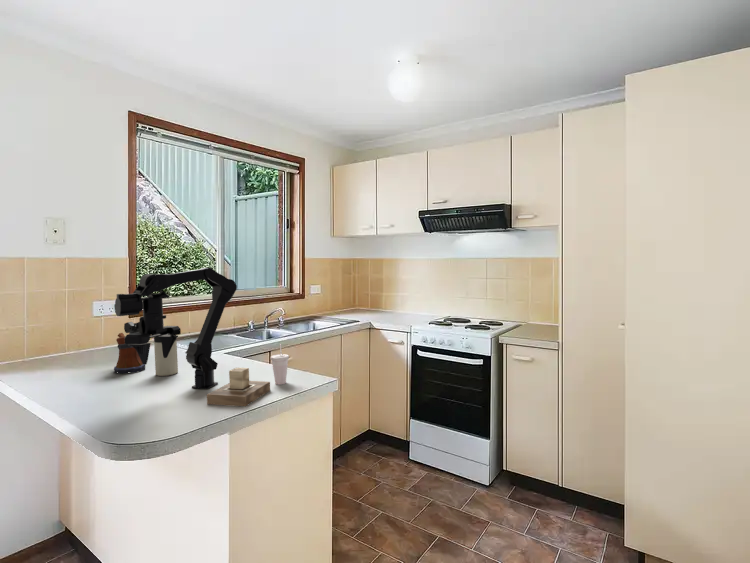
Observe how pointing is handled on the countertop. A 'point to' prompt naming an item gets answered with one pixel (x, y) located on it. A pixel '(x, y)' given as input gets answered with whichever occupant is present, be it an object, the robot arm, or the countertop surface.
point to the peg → (239, 378)
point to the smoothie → (280, 367)
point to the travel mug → (165, 359)
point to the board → (238, 394)
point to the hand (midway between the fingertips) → (155, 361)
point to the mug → (127, 357)
